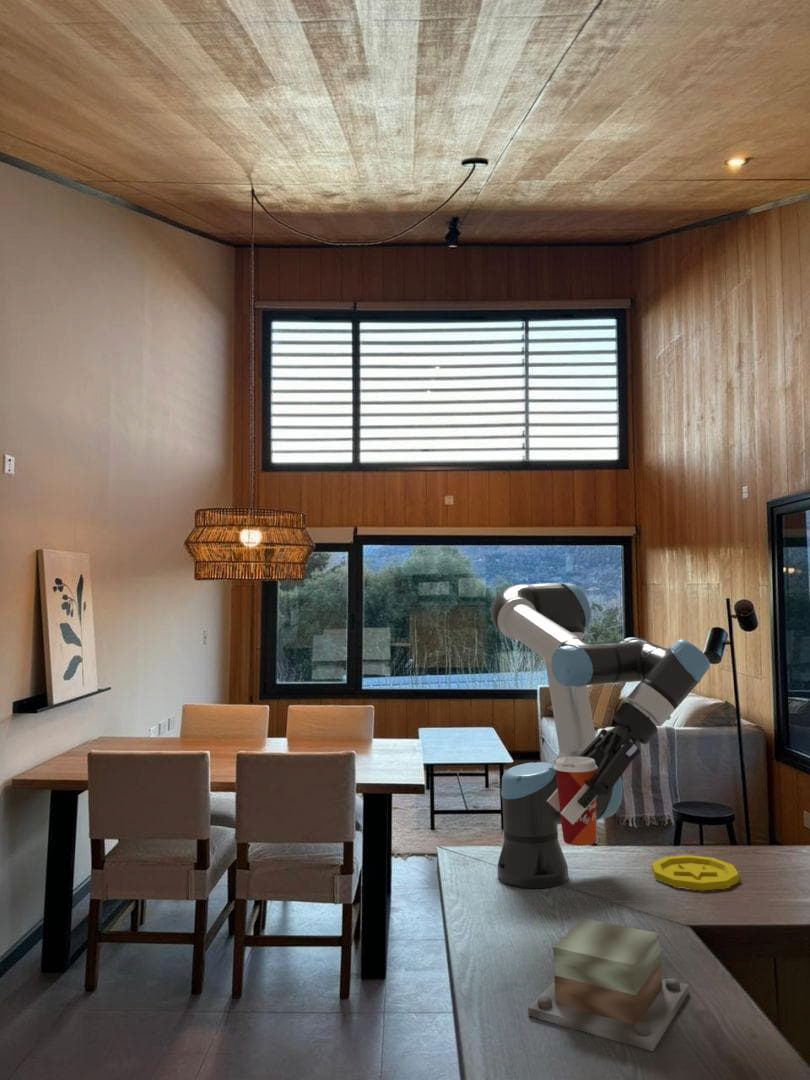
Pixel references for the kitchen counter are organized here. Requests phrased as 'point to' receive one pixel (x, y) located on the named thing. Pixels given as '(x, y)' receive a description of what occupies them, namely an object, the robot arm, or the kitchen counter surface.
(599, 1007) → the bolted block on plate
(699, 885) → the decorative disc
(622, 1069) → the kitchen counter surface
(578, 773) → the paper cup
